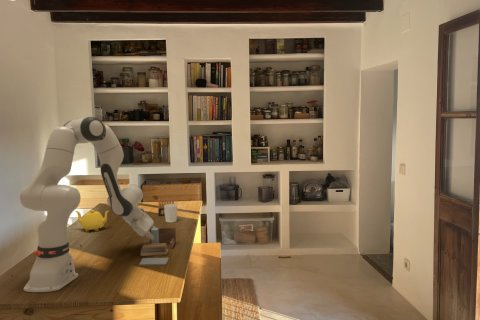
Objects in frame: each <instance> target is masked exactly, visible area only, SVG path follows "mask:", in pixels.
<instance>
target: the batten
mask: <svg viewBox="0 0 480 320" xmlns="http://www.w3.org/2000/svg"><path fill="white" fill-rule="evenodd" d="M159 228H160V227H155V228H152V229H151V234H152V235H154V236H155V238H154V239H153V240H151V243H159Z"/></svg>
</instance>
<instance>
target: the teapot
mask: <svg viewBox="0 0 480 320" xmlns="http://www.w3.org/2000/svg"><path fill="white" fill-rule="evenodd" d="M109 212H110V210H106V211H105V212H104V217H103V215H102V213H100V211H97V210H96V211H95V209H91V210H89V211H88V212H86V213H84V215H83V217H82V214H81V212H80V211H79V210H75V213H77V219H78V222H79V224H80V225H81V228H83V230H84V232H90V231H91V230H94V232H99V231H100V230H99V228H100V229H102V228H103V227H104V225H105V224H106V223H107V221H108V213H109Z"/></svg>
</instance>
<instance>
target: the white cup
mask: <svg viewBox="0 0 480 320" xmlns="http://www.w3.org/2000/svg"><path fill="white" fill-rule="evenodd" d="M164 211H165V216H164V218H165V222H166V223H176V222H177V220H178V219H177V218H178V205H177V204H176V203H174V204H172V203H171V204H167V205H164Z"/></svg>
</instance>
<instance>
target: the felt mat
mask: <svg viewBox="0 0 480 320" xmlns="http://www.w3.org/2000/svg"><path fill="white" fill-rule="evenodd" d="M169 260H170V259H169V257H142V258H141V260H140V262H139V263H138V266H167V264H168V262H169Z"/></svg>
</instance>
